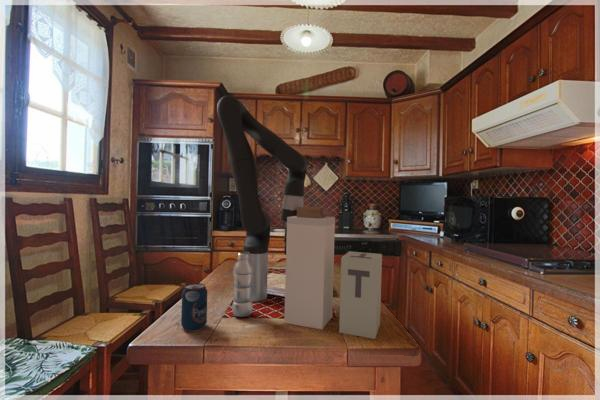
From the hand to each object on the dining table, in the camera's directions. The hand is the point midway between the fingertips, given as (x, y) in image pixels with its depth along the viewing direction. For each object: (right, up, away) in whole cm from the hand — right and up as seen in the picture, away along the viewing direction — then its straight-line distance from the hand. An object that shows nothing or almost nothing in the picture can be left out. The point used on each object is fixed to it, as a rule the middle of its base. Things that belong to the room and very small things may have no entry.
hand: (288, 253), depth 118 cm
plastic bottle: (-14, -18, -15) cm, 27 cm away
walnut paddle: (+10, +14, -12) cm, 21 cm away
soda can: (-26, -17, -25) cm, 40 cm away
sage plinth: (+22, -19, -22) cm, 36 cm away
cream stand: (+7, -18, -16) cm, 25 cm away
